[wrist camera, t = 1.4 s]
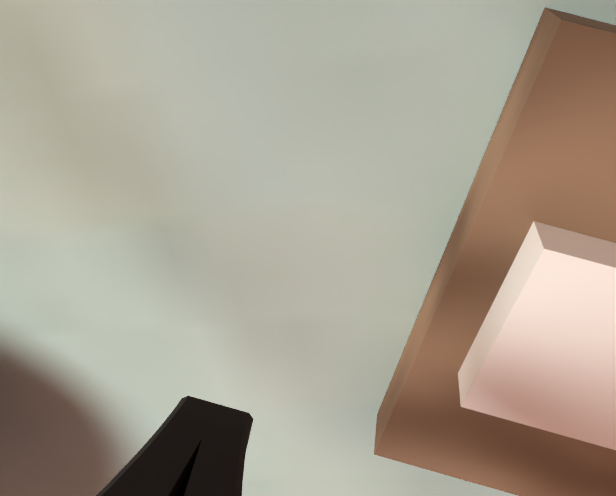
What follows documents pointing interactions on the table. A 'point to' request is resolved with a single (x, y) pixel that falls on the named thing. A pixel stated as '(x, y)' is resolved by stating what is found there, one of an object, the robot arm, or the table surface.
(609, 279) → the tile
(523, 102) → the deck
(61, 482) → the table surface
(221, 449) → the robot arm
